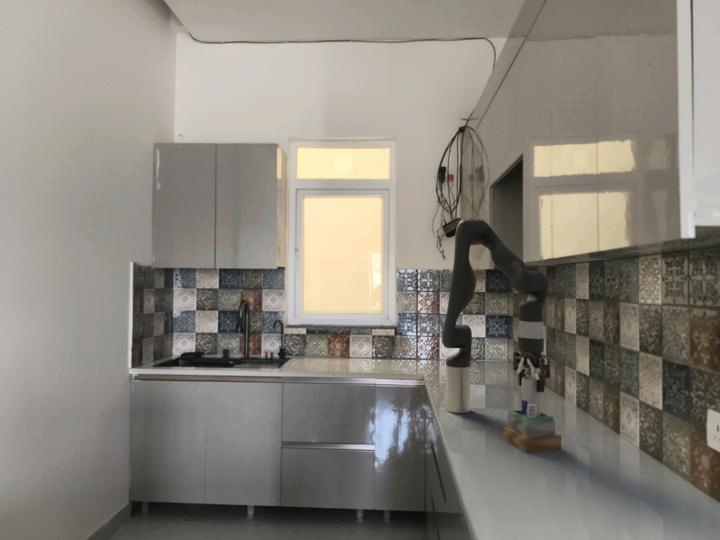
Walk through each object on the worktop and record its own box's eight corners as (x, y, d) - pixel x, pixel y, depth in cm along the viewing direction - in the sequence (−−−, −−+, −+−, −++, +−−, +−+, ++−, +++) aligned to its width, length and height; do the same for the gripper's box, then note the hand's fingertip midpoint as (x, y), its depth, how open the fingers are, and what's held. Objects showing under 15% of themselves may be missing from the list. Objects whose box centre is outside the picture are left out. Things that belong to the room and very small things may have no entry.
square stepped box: (502, 439, 140) (502, 409, 141) (534, 436, 144) (534, 407, 144) (526, 452, 129) (526, 420, 129) (561, 449, 132) (561, 417, 133)
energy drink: (525, 414, 140) (525, 375, 141) (542, 417, 137) (542, 378, 137) (519, 417, 136) (518, 378, 137) (537, 421, 133) (536, 380, 133)
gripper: (506, 333, 143) (506, 384, 143) (535, 338, 130) (535, 395, 129) (526, 333, 145) (526, 383, 145) (557, 338, 132) (557, 393, 131)
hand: (530, 388), depth 137 cm, fingers open, 8 cm apart
